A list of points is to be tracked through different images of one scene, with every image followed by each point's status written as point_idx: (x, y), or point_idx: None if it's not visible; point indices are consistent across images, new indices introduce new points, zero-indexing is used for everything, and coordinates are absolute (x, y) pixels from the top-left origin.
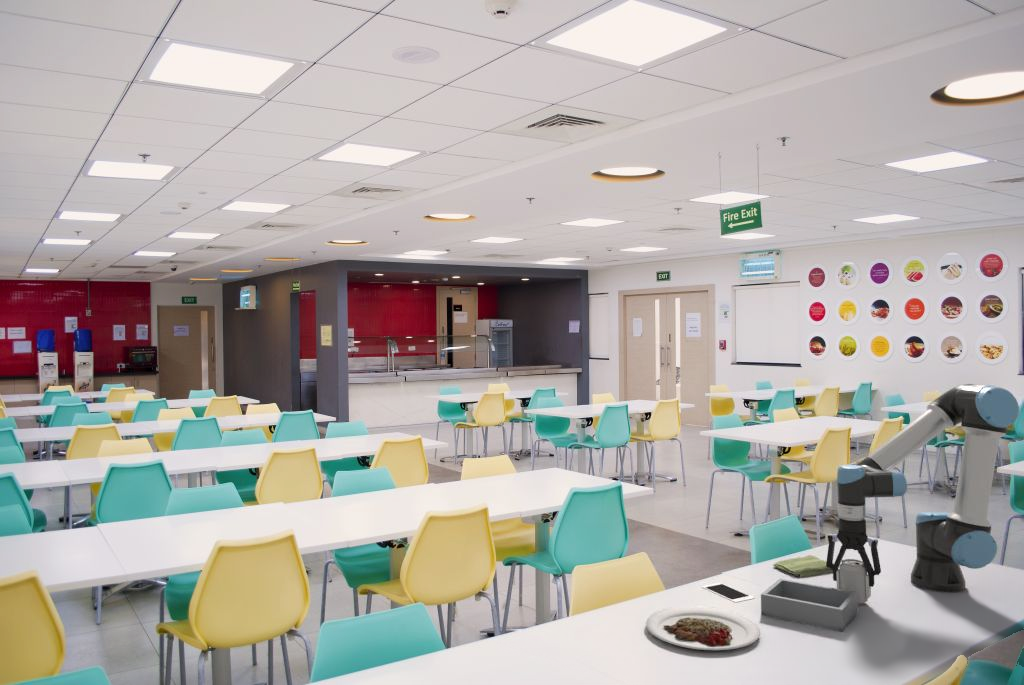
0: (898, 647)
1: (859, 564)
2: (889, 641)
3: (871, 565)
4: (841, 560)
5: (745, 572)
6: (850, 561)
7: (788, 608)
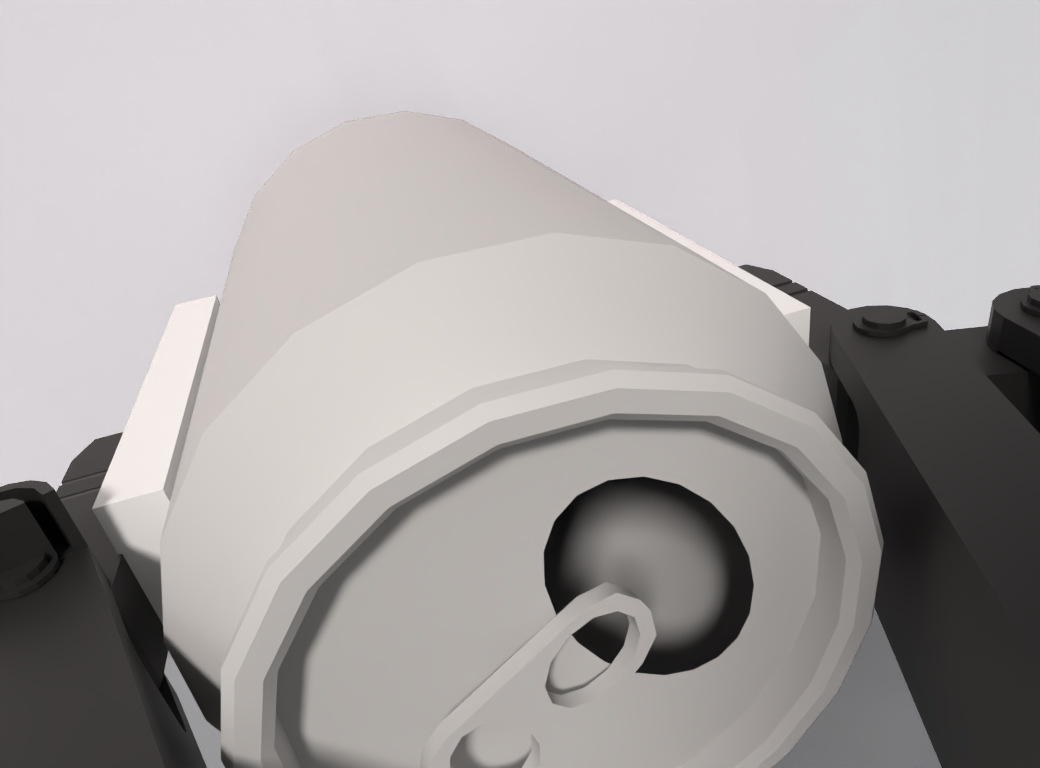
0: (896, 742)
1: (586, 231)
2: (851, 723)
3: (1007, 414)
4: (151, 713)
5: None
6: (505, 697)
7: None
